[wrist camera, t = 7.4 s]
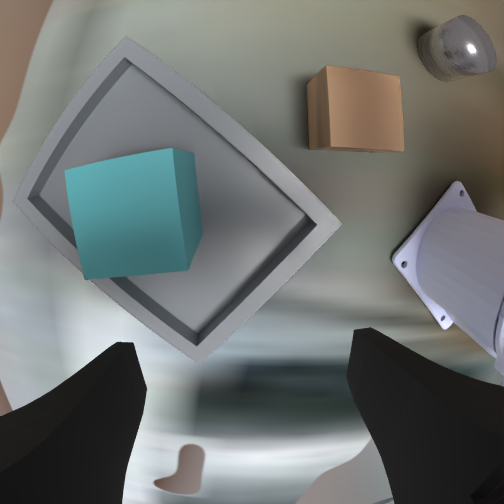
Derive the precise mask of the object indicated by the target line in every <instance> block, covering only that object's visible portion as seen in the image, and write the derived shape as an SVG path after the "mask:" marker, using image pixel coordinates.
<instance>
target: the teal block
mask: <svg viewBox="0 0 504 504" xmlns="http://www.w3.org/2000/svg"><path fill="white" fill-rule="evenodd" d="M65 179H66V187H67V194H68V201H69V207H70V214H71V219H72V225H73V230H74V235H75V240H76V245H77V249H78V254H79V258H80V262H81V266H82V270H83V274H84V278H85V280H90V279H102V278H113V277H124V276H136V275H147V274H157V273H168V272H179V271H188V270H189V268H190V265H191V262H192V260H193V257H194V255H195V252H196V250H197V247H198V245H199V242H200V240H201V238H202V235H203V228H202V220H201V212H200V204H199V195H198V186H197V177H196V167H195V157H194V153H190V152H187V151H183V150H179V149H175V148H168V149H162V150H156V151H150V152H145V153H139V154H134V155H129V156H124V157H119V158H114V159H110V160H105V161H101V162H96V163H92V164H88V165H84V166H80V167H76V168H72V169H68V170H65Z"/></svg>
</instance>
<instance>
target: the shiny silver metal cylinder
mask: <svg viewBox="0 0 504 504" xmlns="http://www.w3.org/2000/svg"><path fill="white" fill-rule="evenodd" d="M417 49H418V54H419V57H420V59H421V61H422V63H423V65H424V66H425V68H426V69H427V70H428V71H429V72H430V73H431V74H432V75H433V76H434V77H436V78H437V79H439V80H441V81H445V82H448V81H453V80H457V79H460V78H464V77H468V76H473V75H477V74H481V73H486V72H490V71H492V70H494V68H495V66H496V52H495V49H494V46H493V44H492V41H491V39H490V38H489V36H488V34H487V33H486V31H485V30H484V29H483V28H482V27H481V25H479V24H478V23H477V22H476V21H475V20H474V19H472V18H470V17H468V16H465V15H460V16H458V17H456V18H454V19H452V20H450V21H448V22H446V23H444V24H442V25H440V26H438V27H436V28H434V29H432V30H430V31H428V32H426V33H425V34H423V35H421V36H420V37H419V39H418V43H417Z"/></svg>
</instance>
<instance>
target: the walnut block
mask: <svg viewBox="0 0 504 504" xmlns="http://www.w3.org/2000/svg"><path fill="white" fill-rule="evenodd" d="M306 87H307V104H308V126H309V150H336V151H356V152H404V129H403V111H402V98H401V88H400V78H399V77H397V76H393V75H388V74H383V73H377V72H372V71H366V70H359V69H352V68H345V67H337V66H328V65H326V66H325V67H324V68H323V69H322V70H321V71H320V72H319V73H318V74H317V75H316V76H315V77H314V78H313V79H312V80H311V81H310V82H309V83H308V84H307V85H306Z"/></svg>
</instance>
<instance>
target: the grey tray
mask: <svg viewBox="0 0 504 504" xmlns="http://www.w3.org/2000/svg"><path fill="white" fill-rule="evenodd" d="M168 148H175V149H179V150H183V151H187V152H190V153H194V157H195V167H196V177H197V186H198V195H199V204H200V212H201V220H202V228H203V235H202V238H201V240H200V242H199V245H198V247H197V250H196V252H195V255H194V257H193V260H192V262H191V265H190V268H189V270H188V271H179V272H168V273H157V274H147V275H136V276H124V277H113V278H102V279H90V280H91V281H92V282H93V283H94V284H95V285H96V286H98V287H99V288H100V289H101V290H102V291H103V292H104V293H106V294H107V295H108V296H109V297H110V298H112V299H113V300H114V301H115V302H116V303H118V304H119V305H120V306H121V307H122V308H124V309H125V310H126V311H127V312H129V313H130V314H131V315H132V316H134V317H135V318H136V319H137V320H139V321H140V322H141V323H143V324H144V325H145V326H146V327H148V328H149V329H150V330H152V331H153V332H154V333H156V334H157V335H158V336H160V337H161V338H163V339H164V340H165V341H167V342H168V343H169V344H171V345H172V346H174V347H175V348H176V349H178V350H179V351H181V352H182V353H184V354H185V355H186V356H188V357H189V358H191V359H192V360H194V361H195V362H197V363H198V364H201V363H202V362H203V361H204V360H205V359H206V358H207V357H208V356H210V355H211V354H212V353H213V352H214V351H215V350H216V349H217V348H218V347H219V346H220V345H221V344H222V343H224V342H225V341H226V340H227V339H228V338H229V337H230V336H231V335H232V334H233V333H234V332H235V331H236V330H237V329H238V328H239V327H240V326H242V325H243V324H244V323H245V322H246V321H247V320H248V319H249V318H250V317H251V316H252V315H253V314H254V313H255V312H256V311H257V310H258V309H259V308H260V307H261V306H262V305H263V304H264V303H265V302H266V301H267V300H268V299H269V298H270V297H271V296H272V295H273V294H275V293H276V292H277V291H278V290H279V289H280V288H281V287H282V286H283V285H284V284H285V283H286V282H287V281H288V280H289V279H290V278H291V277H292V276H293V275H294V274H295V273H296V272H297V271H298V270H299V269H300V267H301V266H302V265H303V264H304V263H305V262H306V261H307V260H308V259H309V258H310V257H311V256H312V255H313V254H314V253H315V252H316V251H317V250H318V249H319V248H320V247H321V246H322V245H323V244H324V243H325V242H326V241H327V240H328V239H329V238H330V237H331V236H332V234H333V233H334V232H335V231H336V230H337V229H338V228H339V227H340V226H341V225H342V223H341V222H340V221H339V220H338V219H337V218H336V217H335V215H334V214H333V213H332V212H331V211H330V210H329V209H328V208H327V207H326V206H325V205H324V204H323V203H322V202H321V201H320V200H319V199H318V198H317V197H316V196H315V195H314V194H313V193H312V192H311V191H310V190H309V189H308V188H307V187H306V186H305V185H304V184H303V183H302V182H301V181H300V180H299V179H298V178H297V177H296V176H295V175H294V174H293V173H292V172H291V171H290V170H289V169H288V168H287V167H286V166H285V165H284V164H283V163H282V162H281V161H279V160H278V159H277V158H276V157H275V156H274V155H273V154H272V153H271V152H270V151H269V150H268V149H267V148H266V147H264V146H263V145H262V144H261V143H260V142H259V141H258V140H257V139H256V138H255V137H253V136H252V135H251V134H250V133H249V132H248V131H247V130H246V129H244V128H243V127H242V126H241V125H240V124H239V123H238V122H236V121H235V120H234V119H233V118H232V117H231V116H230V115H228V114H227V113H226V112H225V111H224V110H223V109H221V108H220V107H219V106H218V105H217V104H215V103H214V102H213V101H212V100H211V99H209V98H208V97H207V96H206V95H204V94H203V93H202V92H201V91H200V90H198V89H197V88H196V87H195V86H193V85H192V84H191V83H189V82H188V81H187V80H186V79H184V78H183V77H182V76H181V75H179V74H178V73H177V72H175V71H174V70H173V69H171V68H170V67H169V66H167V65H166V64H165V63H163V62H162V61H161V60H159V59H158V58H157V57H155V56H154V55H153V54H151V53H150V52H148V51H147V50H146V49H144V48H143V47H141V46H140V45H139V44H137V43H136V42H134V41H133V40H131V39H130V38H128V37H127V36H125V37H124V38H123V40H122V41H121V42H120V43H119V44H118V45H117V46H116V47H115V48H114V49H113V50H112V51H111V52H110V53H109V54H108V56H107V57H106V58H105V59H104V60H103V61H102V62H101V64H100V65H99V66H98V67H97V68H96V69H95V71H94V72H93V73H92V74H91V75H90V77H89V78H88V79H87V80H86V82H85V83H84V84H83V86H82V87H81V88H80V89H79V91H78V92H77V93H76V95H75V96H74V97H73V99H72V100H71V101H70V103H69V104H68V106H67V107H66V109H65V110H64V111H63V113H62V114H61V116H60V117H59V119H58V120H57V122H56V123H55V125H54V126H53V128H52V129H51V131H50V133H49V134H48V136H47V137H46V139H45V141H44V142H43V144H42V146H41V147H40V149H39V151H38V153H37V154H36V156H35V158H34V160H33V162H32V163H31V165H30V167H29V169H28V171H27V173H26V175H25V177H24V179H23V181H22V183H21V185H20V187H19V189H18V191H17V193H16V195H15V197H14V200H13V203H14V204H15V205H16V206H17V207H18V208H19V209H20V211H21V212H22V213H23V214H24V215H25V216H26V217H27V218H28V219H29V221H30V222H31V223H32V224H33V225H34V226H35V227H36V228H37V229H38V230H39V231H40V232H41V233H42V234H43V235H44V236H45V237H46V238H47V239H48V240H49V241H50V242H51V243H52V244H53V245H54V246H55V247H56V248H57V249H58V250H59V251H60V252H61V253H62V254H63V255H64V256H65V257H66V258H67V259H68V260H69V261H70V262H71V263H72V264H73V265H74V266H75V267H76V268H77V269H79V270H80V271H81V272H82V273H83V270H82V266H81V262H80V258H79V254H78V249H77V245H76V240H75V235H74V230H73V225H72V219H71V214H70V207H69V201H68V194H67V187H66V179H65V170H68V169H72V168H76V167H80V166H84V165H88V164H92V163H96V162H101V161H105V160H110V159H114V158H119V157H124V156H129V155H134V154H139V153H145V152H150V151H156V150H162V149H168Z"/></svg>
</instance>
